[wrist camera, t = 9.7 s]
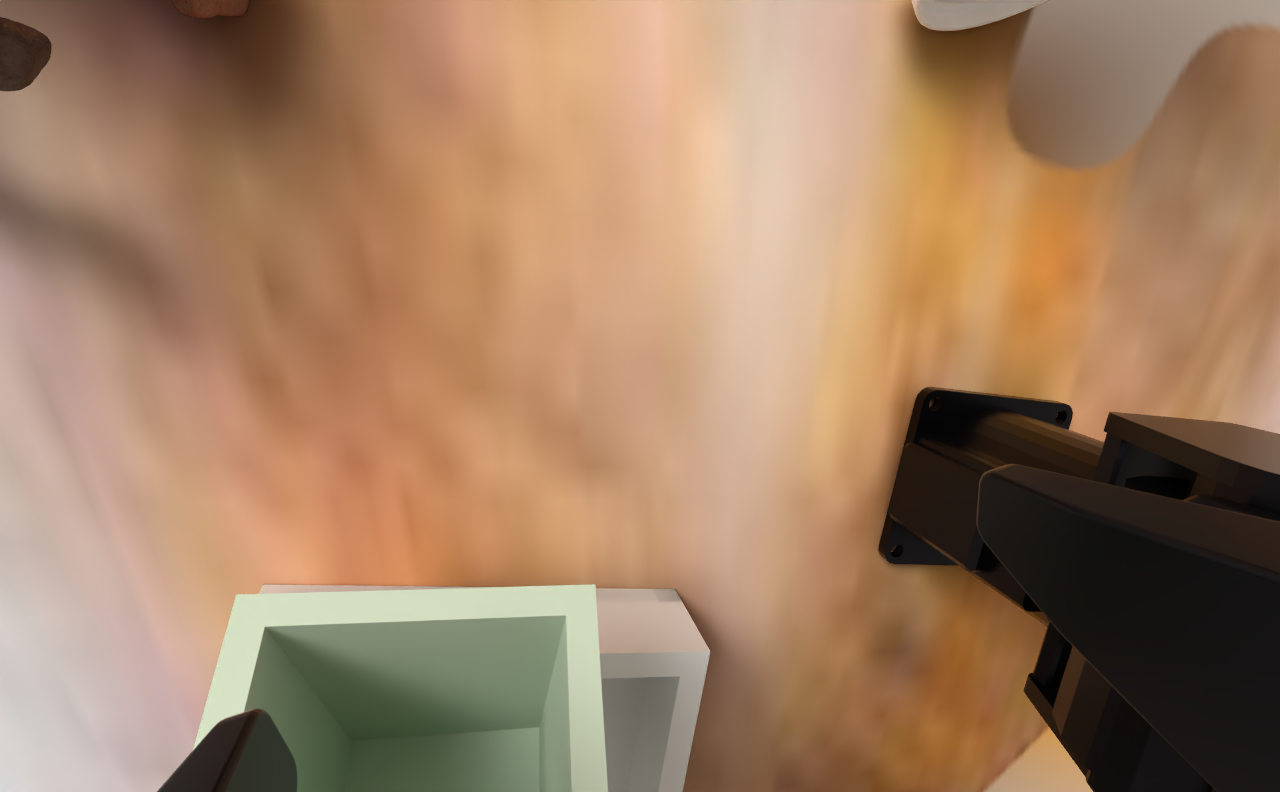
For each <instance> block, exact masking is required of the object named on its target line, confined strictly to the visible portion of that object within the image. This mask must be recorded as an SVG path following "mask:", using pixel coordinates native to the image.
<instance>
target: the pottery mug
mask: <svg viewBox="0 0 1280 792" xmlns="http://www.w3.org/2000/svg"><path fill="white" fill-rule="evenodd" d="M172 2H173V5H174V6H175V7H176V8H177V9H178V10H179V11H180V12H182V13H184V14H186V15H188V16H192V17H196V18H212V17H213V16H215V15H221V16H242V15H243V14H244V13H245V12H246V10H247V8H248V5H249V0H172ZM50 55H51V42H50V41H49V39H48V38H47V37H46V36H45V35H44V34H42V33H41V32H39V31H37V30H36V29H34V28H31V27H29V26H26V25H24V24H21V23H18V22H14V21H12V20H9V19H6V18H2V17H0V91H16V90H21V89H23V88H25V87H27V86H28V85H30V84H31V83H32V82H33V80H34V79H35V78H36V77H37V76H38V74H39V73H40V71H41V70H42V68H43V67H44V66H45V65H46V64H47V62H48V61H49V59H50Z"/></svg>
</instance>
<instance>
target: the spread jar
mask: <svg viewBox="0 0 1280 792" xmlns="http://www.w3.org/2000/svg"><path fill="white" fill-rule="evenodd" d="M911 1H912V5H913V8H914V12H915V15H916V17H917V19H918V20H919V22H920V24H921V25H923V26H925V27H927V28H929V29H931V30H939V31H954V30H963V29H968V28H973V27H978V26H982V25H985V24H989V23H992V22H996V21H999V20H1002V19H1005V18H1007V17H1010V16H1013V15H1015V14H1018V13H1021V12H1024V11H1026V10H1028V9H1030V8H1033V7H1035V6H1037V5H1040V4H1042V3H1044V2H1046V1H1049V0H911Z"/></svg>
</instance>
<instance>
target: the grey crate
mask: <svg viewBox="0 0 1280 792" xmlns="http://www.w3.org/2000/svg"><path fill="white" fill-rule="evenodd" d="M452 588H487V587H443V586H353V585H264V584H263V586H262V588H261V590H260V592H259V593H258V594H276V593H311V592H346V591H382V590H417V589H452ZM596 603H597V619H598V636H599V652H600V668H601V685H602V701H603V718H604V734H605V750H606V767H607V783H608V792H683V787H684V782H685V777H686V772H687V767H688V762H689V757H690V752H691V747H692V742H693V737H694V732H695V727H696V722H697V717H698V712H699V707H700V702H701V697H702V692H703V687H704V682H705V677H706V672H707V667H708V662H709V657H710V650H709V648H708V646H707V645H706V643H705V641H704V639H703V638H702V636H701V634H700V632H699V631H698V629H697V627H696V625H695V624H694V622H693V620H692V618H691V616H690V615H689V613H688V611H687V609H686V608H685V606H684V604H683V602H682V601H681V599H680V597H679V595H678V594H677V592H676V590H675V589H622V588H596Z"/></svg>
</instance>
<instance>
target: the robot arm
mask: <svg viewBox="0 0 1280 792" xmlns="http://www.w3.org/2000/svg"><path fill="white" fill-rule="evenodd" d="M932 398H934V403H933V405H932V406H931V407H929V403H930V401H931V399H932ZM1057 413H1058V415H1057ZM1056 415H1057V417H1056ZM1072 415H1073V412H1072V408H1071V407H1070V406H1069V405H1067V404H1064V403H1061V402H1057V401H1050V400H1042V399H1033V398H1024V397H1015V396H1006V395H997V394H989V393H980V392H971V391H962V390H953V389H944V388H936V387H927V388H925V389H923V390H921V392H920V393H919V394H918V396H917V398H916V400H915V404H914V408H913V412H912V416H911V420H910V424H909V428H908V432H907V436H906V440H905V444H904V448H903V452H902V456H901V460H900V464H899V468H898V472H897V476H896V480H895V484H894V488H893V492H892V496H891V500H890V504H889V508H888V512H887V515H886V519H885V523H884V527H883V531H882V535H881V539H880V543H879V553H880V555H881V556H882V557H883V558H884V559H886V560H887V561H888V562H889V563H893V564H921V565H959V566H961V567H962V568H964V569H965V570H967V571H968V572H970V573H971V574H972V575H974V576H975V577H977V578H978V579H980V580H981V581H982V582H984V583H985V584H987V585H988V586H990V587H991V588H992V589H994V590H995V591H997V592H998V593H1000V594H1001V595H1002V596H1004V597H1005V598H1007V599H1008V600H1010V601H1011V602H1012V603H1014V604H1015V605H1017V606H1018V607H1020V608H1021V609H1023V610H1024V611H1025V612H1027V613H1028V614H1030V615H1031V616H1033V617H1034V618H1035V619H1037V620H1038V621H1040V622H1041V623H1043V624H1044V625H1045V626H1047V630H1046V633H1045V636H1044V639H1043V642H1042V646H1041V649H1040V652H1039V655H1038V659H1037V662H1036V665H1035V668H1034V672H1033V673H1030V674H1029V675H1028V678H1027V681H1026V685H1025V688H1024V692H1025V694H1026V695H1027V697H1028V698H1029V699H1030V701H1031V702H1032V704H1033V705H1034V706H1035V708H1036V709H1037V711H1038V712H1039V713H1040V715H1041V716H1042V717H1043V719H1044V720H1045V722H1046V723H1047V724H1048V726H1049V727H1050V728H1051V730H1052V731H1053V733H1054V734H1055V735H1056V737H1057V738H1058V739H1059V741H1060V742H1061V744H1062V745H1063V746H1064V748H1065V749H1066V751H1067V752H1068V753H1069V755H1070V756H1071V758H1072V759H1073V760H1074V761H1075V763H1076V764H1077V766H1078V767H1079V769H1080V770H1081V771H1082V773H1083V774H1084V775H1085V777H1086V781H1087V783H1088V785H1089V786H1090V788H1091V789H1092V790H1093V792H1280V434H1277V433H1272V432H1268V431H1264V430H1259V429H1255V428H1251V427H1246V426H1242V425H1238V424H1233V423H1225V422H1215V421H1204V420H1193V419H1183V418H1172V417H1161V416H1151V415H1140V414H1129V413H1119V412H1109V415H1108V418H1107V421H1106V425H1105V428H1104V431H1105V432H1107V435H1106V439H1105V442H1102V441H1099V440H1096V439H1093V438H1090V437H1087V436H1085V435H1082V434H1079V433H1076V432H1073V431H1070V430H1069V426H1070V423H1071V420H1072ZM896 545H897V547H896V549H895V550H894V551H893V552H891V550H892V548H893V547H894V546H896ZM157 792H297V768H296V763H295V760H294V757H293V755H292V753H291V751H290V749H289V748H288V746H287V744H286V742H285V741H284V739H283V737H282V735H281V734H280V732H279V730H278V728H277V727H276V725H275V723H274V721H273V720H272V718H271V716H270V715H269V714H268V712H266V711H265V710H264V709H258V708H257V709H252V710H249V711H246V712H243V713H240V714H237V715H234V716H231V717H228V718H225V719H223V720H221V721H220V722H218V723H217V724H216V725H215V726H214V727H213V728H212V729H211V730H210V732H209V733H208V734H207V735H206V736H205V737H204V738H203V740H202V741H201V742H200V743H199V744H198V745H197V746H196V748H195V749H194V750H193V751H192V752H191V753H190V754H189V756H188V757H187V758H186V759H185V760H184V761H183V763H182V764H181V765H180V766H179V767H178V768H177V769H176V771H175V772H174V773H173V774H172V775H171V776H170V777H169V779H168V780H167V781H166V782H165V783H164V784H163V786H162V787H161V788H160V789H159V790H158V791H157Z"/></svg>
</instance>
